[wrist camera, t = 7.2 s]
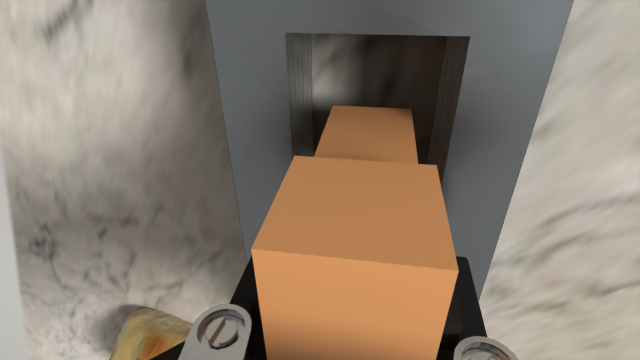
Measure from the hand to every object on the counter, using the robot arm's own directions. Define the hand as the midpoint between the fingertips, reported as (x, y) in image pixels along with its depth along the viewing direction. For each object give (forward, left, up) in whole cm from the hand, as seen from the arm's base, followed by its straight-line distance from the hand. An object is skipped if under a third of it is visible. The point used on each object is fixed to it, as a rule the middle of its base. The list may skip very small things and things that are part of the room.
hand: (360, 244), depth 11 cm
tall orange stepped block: (0, 0, -3) cm, 3 cm away
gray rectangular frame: (0, 0, -4) cm, 4 cm away
